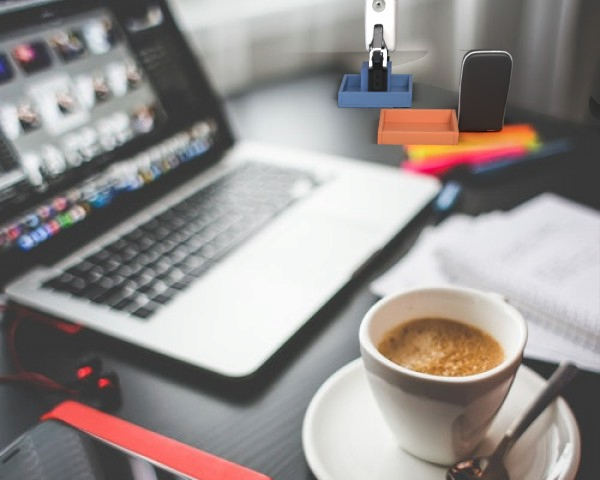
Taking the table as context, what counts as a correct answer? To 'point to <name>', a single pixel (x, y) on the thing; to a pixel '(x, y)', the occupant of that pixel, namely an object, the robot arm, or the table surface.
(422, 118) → the orange tray
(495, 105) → the battery charger
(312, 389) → the table surface
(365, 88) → the blue block
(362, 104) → the blue tray
